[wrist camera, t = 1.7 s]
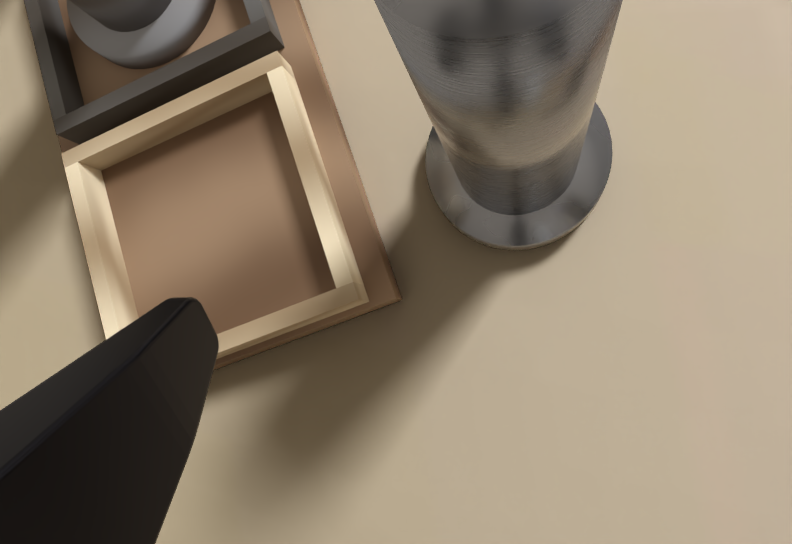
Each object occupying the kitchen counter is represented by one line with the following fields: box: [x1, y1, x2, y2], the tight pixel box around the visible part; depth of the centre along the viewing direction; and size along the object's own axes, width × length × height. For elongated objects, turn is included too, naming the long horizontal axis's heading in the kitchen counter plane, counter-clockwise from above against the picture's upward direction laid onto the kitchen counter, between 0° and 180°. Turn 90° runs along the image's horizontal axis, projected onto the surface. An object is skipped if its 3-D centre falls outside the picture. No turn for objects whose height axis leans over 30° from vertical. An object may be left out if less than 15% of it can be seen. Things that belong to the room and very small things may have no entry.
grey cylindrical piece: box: [374, 0, 622, 250], centre depth 14 cm, size 6×6×12 cm
